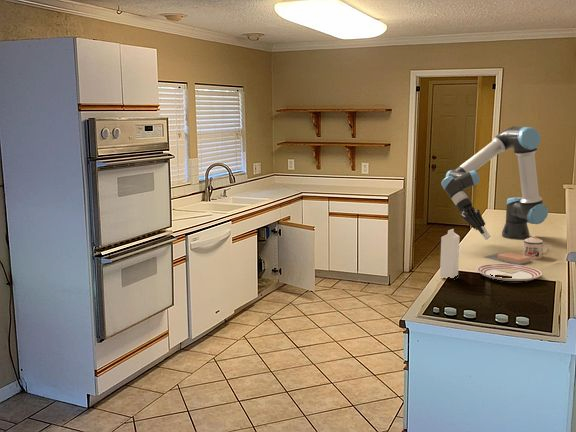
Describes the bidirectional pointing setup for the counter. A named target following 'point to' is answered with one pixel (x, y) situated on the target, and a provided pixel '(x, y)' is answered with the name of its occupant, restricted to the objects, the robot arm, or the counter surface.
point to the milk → (449, 254)
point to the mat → (500, 260)
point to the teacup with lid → (534, 248)
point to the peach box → (513, 258)
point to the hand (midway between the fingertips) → (488, 238)
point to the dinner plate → (521, 275)
